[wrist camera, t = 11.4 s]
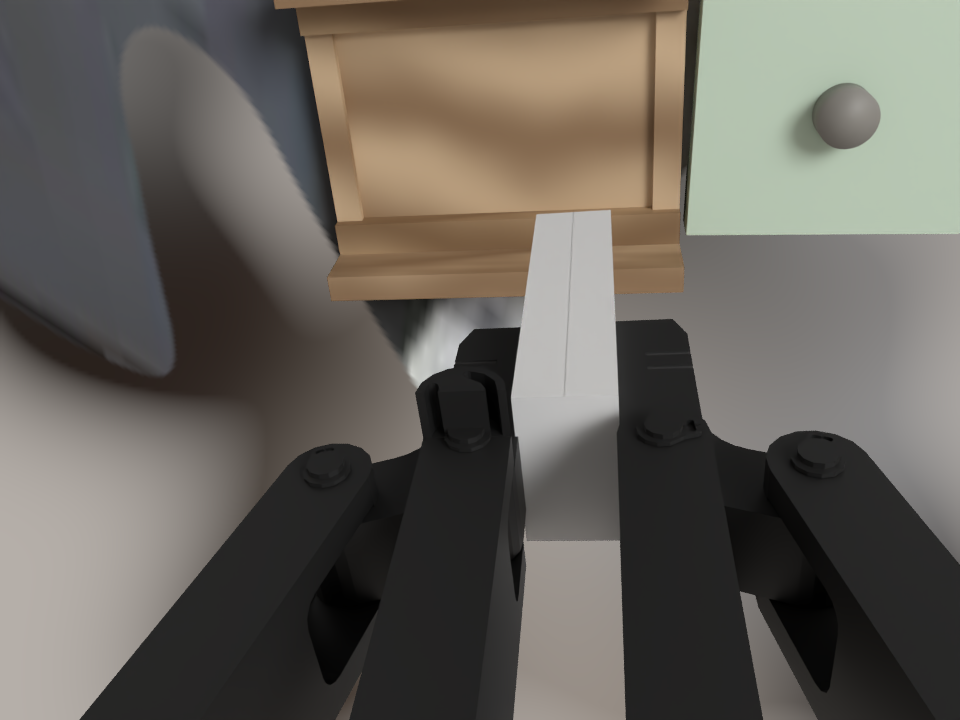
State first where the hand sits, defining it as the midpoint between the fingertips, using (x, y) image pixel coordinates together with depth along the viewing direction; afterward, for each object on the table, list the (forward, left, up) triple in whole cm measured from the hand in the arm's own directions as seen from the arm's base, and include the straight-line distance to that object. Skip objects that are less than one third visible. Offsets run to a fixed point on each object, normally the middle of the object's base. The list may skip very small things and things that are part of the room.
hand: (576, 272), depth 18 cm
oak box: (+3, -4, -23) cm, 23 cm away
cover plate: (+3, +11, -23) cm, 26 cm away
